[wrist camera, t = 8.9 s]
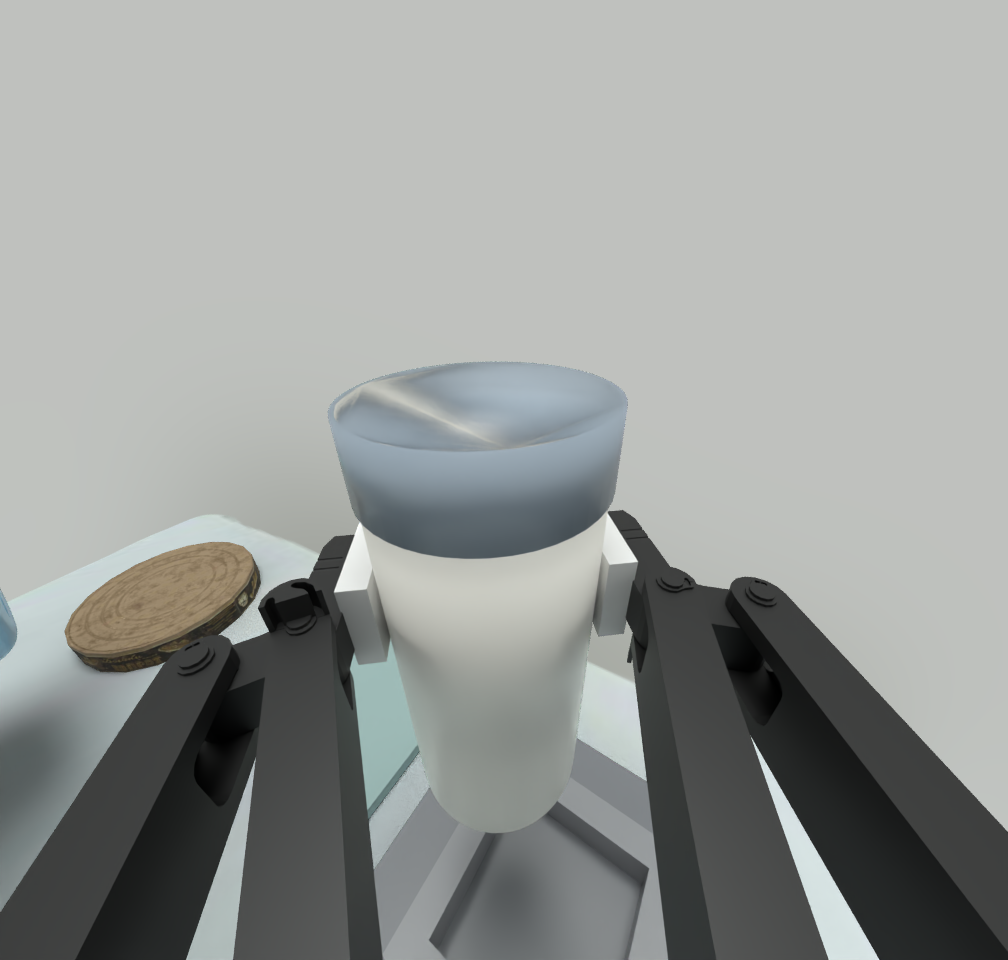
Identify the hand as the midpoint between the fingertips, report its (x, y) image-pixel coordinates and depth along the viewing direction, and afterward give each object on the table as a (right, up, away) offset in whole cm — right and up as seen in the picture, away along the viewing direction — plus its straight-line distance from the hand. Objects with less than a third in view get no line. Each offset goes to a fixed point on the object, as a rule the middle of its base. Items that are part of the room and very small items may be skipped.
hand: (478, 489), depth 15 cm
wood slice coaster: (-35, -14, +27) cm, 46 cm away
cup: (+1, -10, 0) cm, 10 cm away
